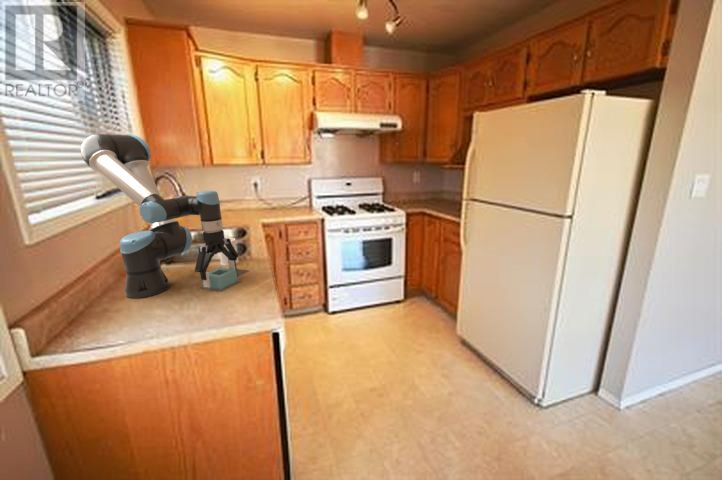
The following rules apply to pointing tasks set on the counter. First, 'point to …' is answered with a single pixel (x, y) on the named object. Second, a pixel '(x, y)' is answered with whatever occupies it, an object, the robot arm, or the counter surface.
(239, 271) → the stand
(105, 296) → the counter surface
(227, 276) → the teal square frame
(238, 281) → the coaster
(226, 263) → the mug
